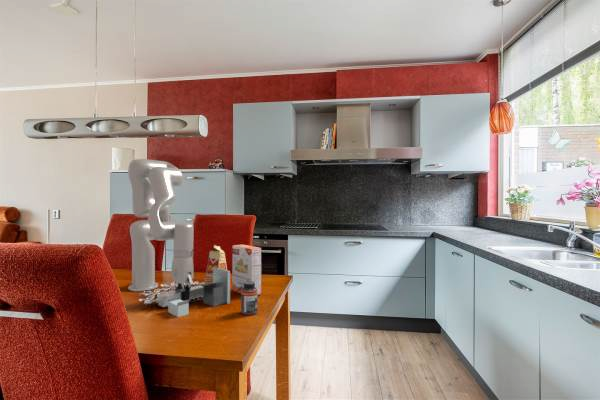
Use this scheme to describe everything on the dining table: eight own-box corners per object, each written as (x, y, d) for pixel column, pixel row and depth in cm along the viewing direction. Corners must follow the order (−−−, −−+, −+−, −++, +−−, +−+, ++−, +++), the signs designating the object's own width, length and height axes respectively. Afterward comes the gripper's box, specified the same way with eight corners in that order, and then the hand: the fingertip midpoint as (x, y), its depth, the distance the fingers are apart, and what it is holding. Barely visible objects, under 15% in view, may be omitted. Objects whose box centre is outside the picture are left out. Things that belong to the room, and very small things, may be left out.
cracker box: (231, 291, 142) (231, 245, 142) (242, 288, 147) (242, 243, 147) (250, 298, 133) (251, 248, 133) (261, 294, 137) (261, 247, 137)
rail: (158, 304, 122) (158, 294, 122) (199, 294, 135) (199, 285, 135) (162, 307, 119) (163, 296, 119) (204, 296, 133) (205, 287, 133)
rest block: (168, 312, 115) (168, 298, 115) (178, 309, 118) (178, 296, 118) (178, 317, 111) (178, 303, 111) (188, 314, 114) (188, 300, 114)
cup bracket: (201, 301, 127) (201, 269, 127) (215, 298, 132) (215, 267, 132) (215, 307, 121) (215, 273, 121) (229, 303, 126) (230, 270, 126)
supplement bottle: (241, 310, 118) (242, 280, 118) (257, 309, 118) (258, 280, 118) (240, 316, 112) (240, 284, 112) (257, 315, 112) (257, 284, 112)
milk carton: (221, 288, 146) (221, 246, 146) (202, 287, 148) (203, 245, 148) (229, 283, 155) (229, 243, 155) (212, 282, 157) (212, 242, 157)
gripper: (164, 252, 129) (163, 296, 130) (185, 258, 118) (184, 306, 119) (181, 249, 135) (180, 292, 135) (203, 255, 124) (202, 301, 124)
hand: (182, 298), depth 127 cm, fingers closed on rail, 4 cm apart
